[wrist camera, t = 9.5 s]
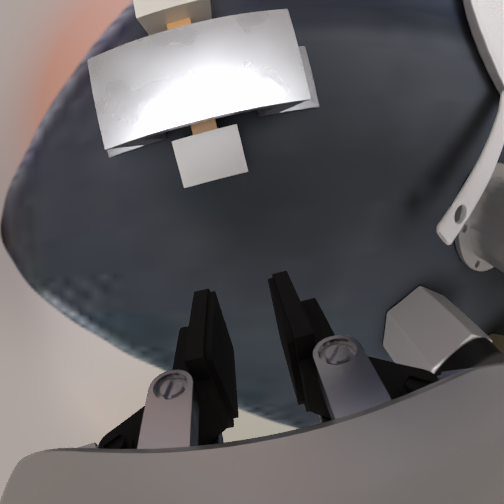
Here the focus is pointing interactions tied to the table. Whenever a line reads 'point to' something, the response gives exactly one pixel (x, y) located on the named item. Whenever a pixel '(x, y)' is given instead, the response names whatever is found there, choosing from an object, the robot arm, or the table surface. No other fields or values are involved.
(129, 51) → the block
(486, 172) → the pan
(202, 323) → the robot arm
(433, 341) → the jar
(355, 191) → the table surface
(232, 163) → the block ended dumbbell
